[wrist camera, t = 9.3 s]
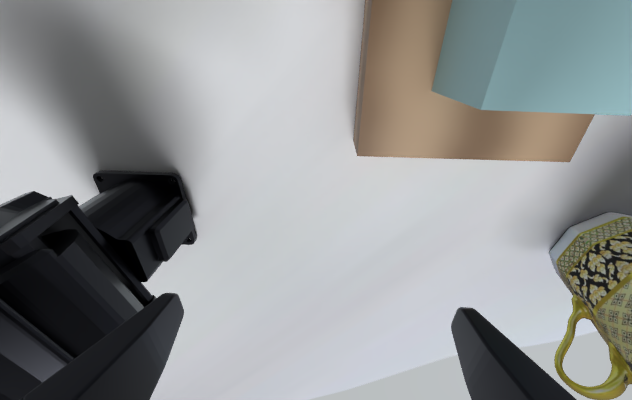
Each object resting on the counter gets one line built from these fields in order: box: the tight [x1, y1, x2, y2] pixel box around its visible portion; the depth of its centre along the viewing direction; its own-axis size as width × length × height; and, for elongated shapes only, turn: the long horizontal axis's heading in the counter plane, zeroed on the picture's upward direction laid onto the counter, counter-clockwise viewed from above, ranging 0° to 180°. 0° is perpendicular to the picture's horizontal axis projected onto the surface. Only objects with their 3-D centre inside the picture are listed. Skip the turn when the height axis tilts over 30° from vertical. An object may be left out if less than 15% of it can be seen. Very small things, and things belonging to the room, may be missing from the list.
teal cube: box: [432, 0, 632, 116], centre depth 10 cm, size 5×5×5 cm
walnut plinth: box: [353, 0, 595, 162], centre depth 13 cm, size 12×12×3 cm
